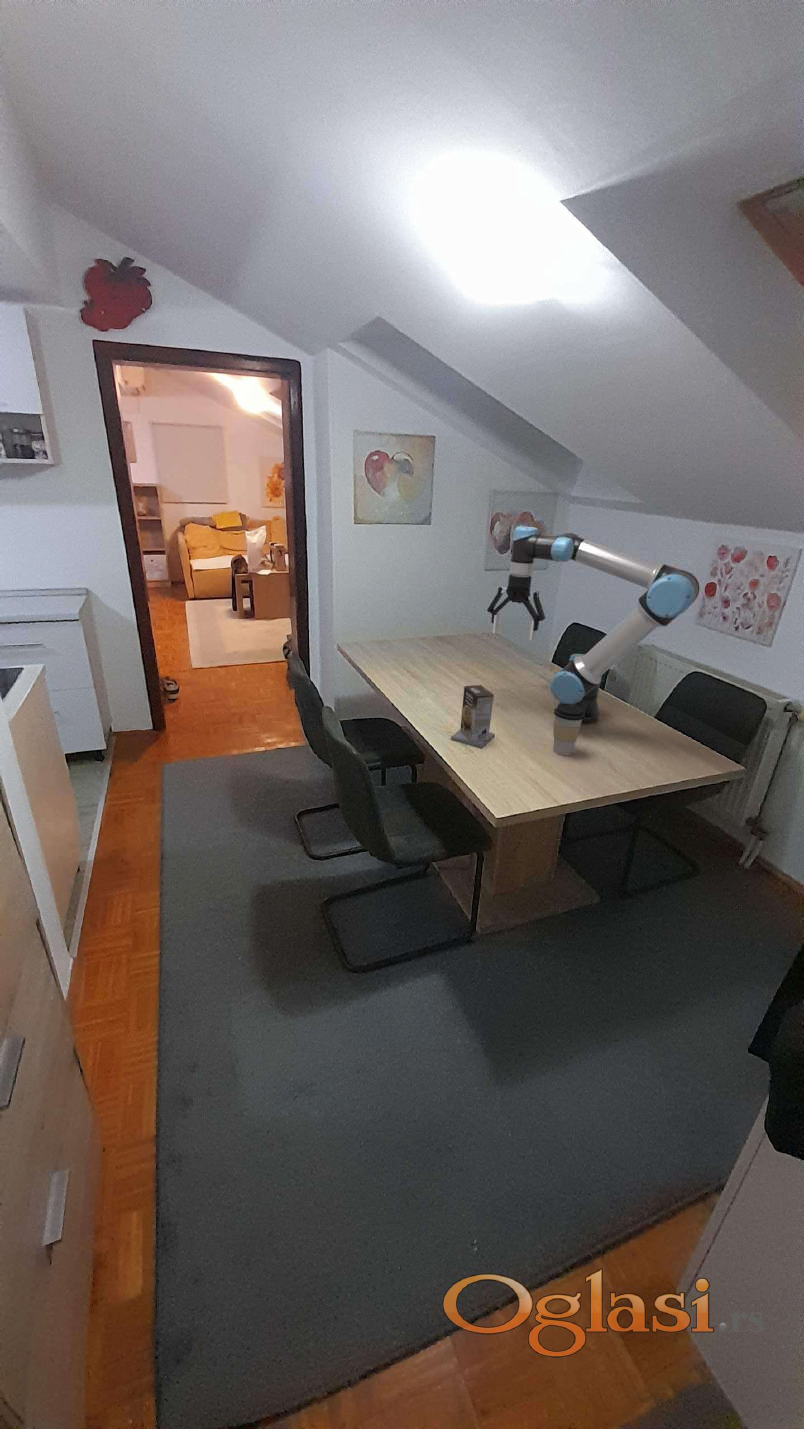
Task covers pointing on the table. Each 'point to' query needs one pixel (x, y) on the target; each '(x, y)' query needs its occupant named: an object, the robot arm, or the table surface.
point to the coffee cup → (566, 727)
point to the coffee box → (476, 712)
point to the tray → (464, 739)
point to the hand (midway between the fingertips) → (512, 636)
